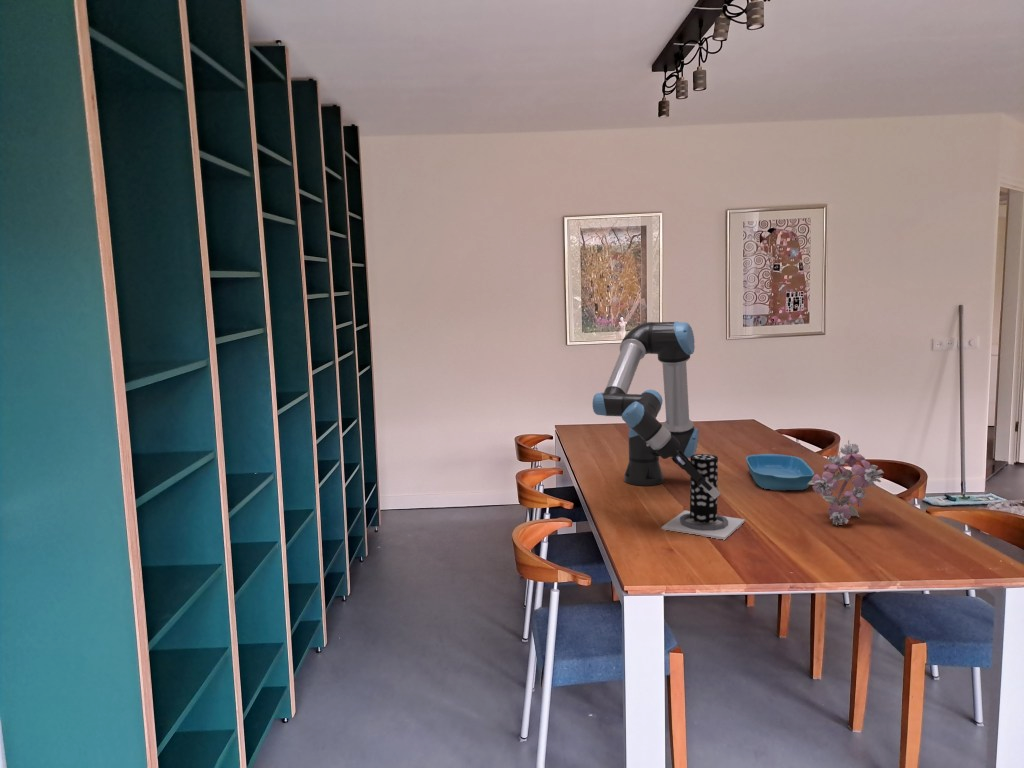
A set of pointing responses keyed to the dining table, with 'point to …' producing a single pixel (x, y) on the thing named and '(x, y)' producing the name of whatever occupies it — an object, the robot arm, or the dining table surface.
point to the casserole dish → (779, 471)
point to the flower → (845, 483)
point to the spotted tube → (700, 499)
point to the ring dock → (704, 526)
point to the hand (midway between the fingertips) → (714, 491)
